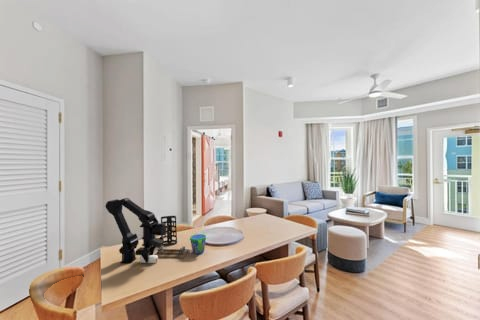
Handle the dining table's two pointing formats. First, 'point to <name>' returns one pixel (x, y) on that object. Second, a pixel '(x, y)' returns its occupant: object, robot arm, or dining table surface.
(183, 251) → the cradle
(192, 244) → the snack cup
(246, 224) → the dining table surface
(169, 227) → the holder
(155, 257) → the roll
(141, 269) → the dining table surface
